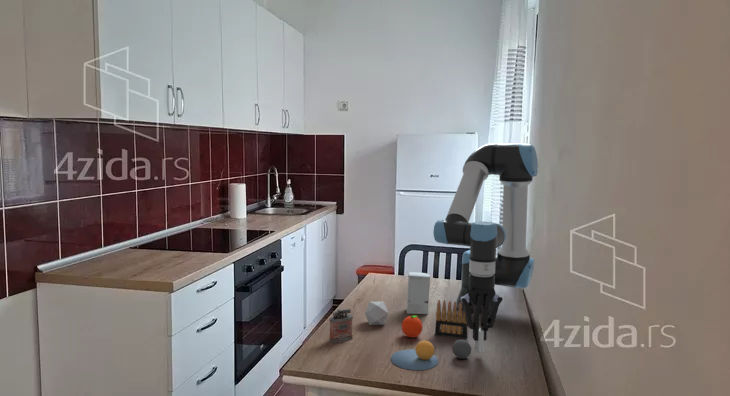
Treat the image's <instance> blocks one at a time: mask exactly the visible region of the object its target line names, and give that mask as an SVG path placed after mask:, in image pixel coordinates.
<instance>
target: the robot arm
mask: <svg viewBox="0 0 730 396" xmlns="http://www.w3.org/2000/svg"><path fill="white" fill-rule="evenodd" d="M537 155H538V154H537V151H536V148H535V146H534V145H532V144H530V143H522V142H517V143H515V142H514V143H509V142H507V143H506V142H505V143H502V142H501V143H500V142H499V143H496V142H492V143H491V142H490V143H486V144H484V145H482V146H480V147H478V148H477V149H476V150H474V151H473V152H472V153H471V154H470V155H469V156H468V158H467V159H466V160H465V162H464V163H463V166H462V177H461V180H460V182H459V184H458V187H457V189H456V192H455V195H454V196H453V199H452V202H451V204H450V207H449V209H448V211H447V214H446V217H445V219H442V220H441V219H440V220H437V221H436V222H435V223H434V225H433V238H434V241H435V242H436V243H438V244H439V243H440V244H444V245H453V246H454V245H455V246H464V247H469V250H466V251H464V252H463V254H462V260H461V283H460V284H461V285H460V286H461V287H460V291H459V292H458V295H457V298H456V301H455V302H456V305H457V309H458V307H459V303H460V302H461V304H462V312H463V311H464V313H465V318H466V323H467V328H469V329H470V330H472V339H473V341H474V342H475V343H474V349H475V350H476V352H477V353H484V341H486V340H487V332H488V331H489V329H493V328H494V324H495V321H496V318H497V314H498V311H499V307H500V304H501V303H502V301H503V297H502V296H500V295H499V294H497V293H496V289H495V286H501V287H509V288H514V289H526V288H528V287H529V285H530V283H531V280H532V277H533V273H534V267H535V259H534V258H533V257H531V255H530V253H531V252H530V251H529V250H528V249H527V246H526V245H527V244H526V243H527V223H528V222H527V221H528V193H529V192H528V191H529V185H530V184H531V183H533V178H534V177H536V176H537V175H538V172H539V171H538V170H539V169H538V168H539V165H538V156H537ZM491 175H494V176H499V182H500V183H501V184H502V185H503V188H502V189H503V190H502V191H503V194H502V195H503V197H502V200H503V201H502V225H501V224H499V223H496V222H493V221H485V220H484V221H474V222H470V219H471V216H472V213H473V212H474V209H475V208H474V207H475V205H476V203H477V200H478V197H479V195H480V192H481V190H482V187H483V184H484V181H486V180H487V179H488V178H489V176H491ZM497 248H499V249H498V250H497Z"/></svg>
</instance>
